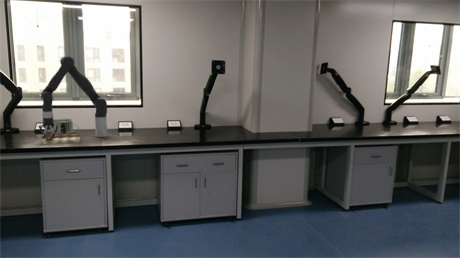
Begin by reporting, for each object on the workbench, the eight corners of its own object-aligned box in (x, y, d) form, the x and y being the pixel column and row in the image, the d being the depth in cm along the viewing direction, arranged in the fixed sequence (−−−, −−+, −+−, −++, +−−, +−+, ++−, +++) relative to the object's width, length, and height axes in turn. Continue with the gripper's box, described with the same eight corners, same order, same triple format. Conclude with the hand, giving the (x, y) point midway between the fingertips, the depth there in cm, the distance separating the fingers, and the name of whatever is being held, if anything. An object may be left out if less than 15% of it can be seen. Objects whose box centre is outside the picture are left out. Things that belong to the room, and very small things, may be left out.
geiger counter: (48, 119, 309) (78, 117, 324) (46, 118, 314) (77, 116, 329) (49, 135, 312) (79, 133, 327) (47, 134, 317) (77, 131, 332)
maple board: (79, 138, 304) (79, 134, 303) (80, 142, 291) (79, 137, 291) (42, 140, 293) (41, 135, 292) (41, 144, 280) (40, 139, 280)
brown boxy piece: (53, 137, 294) (52, 130, 293) (52, 140, 285) (52, 132, 284) (46, 137, 292) (45, 130, 291) (45, 140, 283) (44, 133, 282)
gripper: (58, 115, 293) (59, 136, 296) (38, 116, 287) (39, 137, 290) (57, 117, 286) (59, 138, 289) (37, 117, 280) (38, 139, 283)
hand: (49, 137), depth 290 cm, fingers closed on brown boxy piece, 4 cm apart
